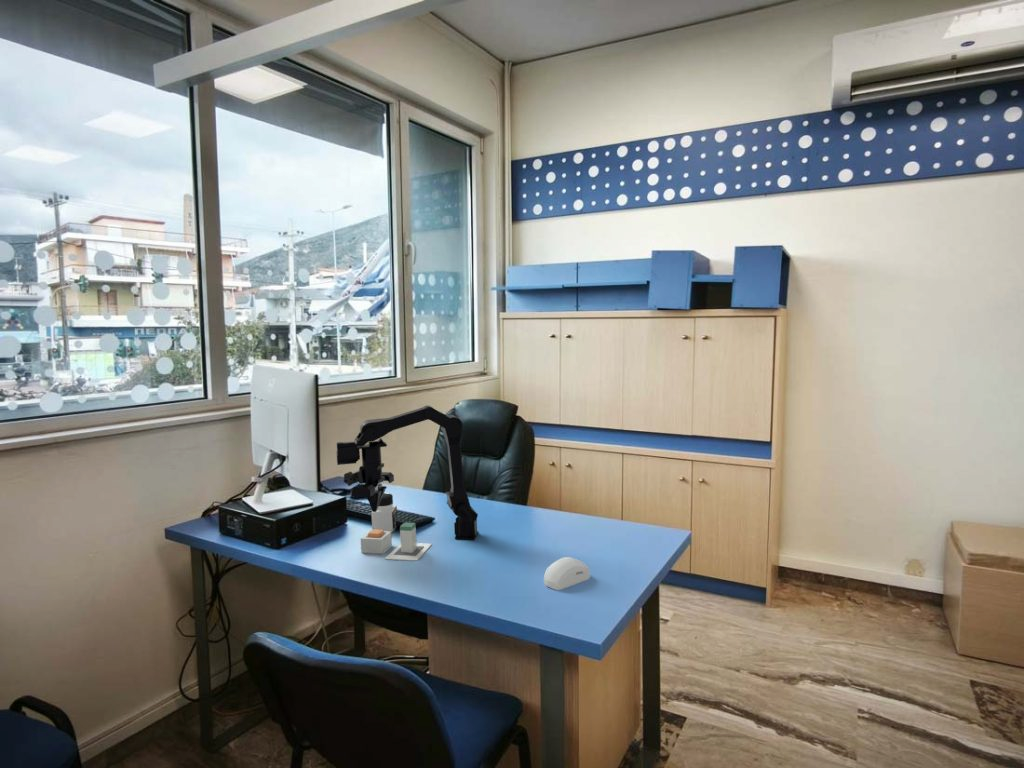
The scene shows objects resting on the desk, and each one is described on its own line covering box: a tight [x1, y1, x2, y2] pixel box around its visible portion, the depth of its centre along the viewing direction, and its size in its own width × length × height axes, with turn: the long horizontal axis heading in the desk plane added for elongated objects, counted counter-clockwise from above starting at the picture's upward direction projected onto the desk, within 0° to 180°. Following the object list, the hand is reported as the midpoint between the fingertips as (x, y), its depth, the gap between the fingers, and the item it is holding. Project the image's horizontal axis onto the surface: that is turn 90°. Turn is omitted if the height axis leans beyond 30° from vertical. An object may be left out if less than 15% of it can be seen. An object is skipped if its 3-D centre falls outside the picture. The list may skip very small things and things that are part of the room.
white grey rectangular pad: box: [384, 542, 433, 562], centre depth 186 cm, size 10×13×1 cm
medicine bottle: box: [371, 492, 398, 533], centre depth 207 cm, size 7×7×12 cm
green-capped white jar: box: [399, 522, 417, 553], centre depth 185 cm, size 4×4×8 cm
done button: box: [367, 529, 384, 538], centre depth 189 cm, size 4×4×2 cm
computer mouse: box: [543, 556, 591, 591], centre depth 161 cm, size 6×13×6 cm, turn 126°
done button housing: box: [360, 530, 393, 555], centre depth 189 cm, size 7×7×4 cm
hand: (374, 511), depth 188 cm, fingers closed
